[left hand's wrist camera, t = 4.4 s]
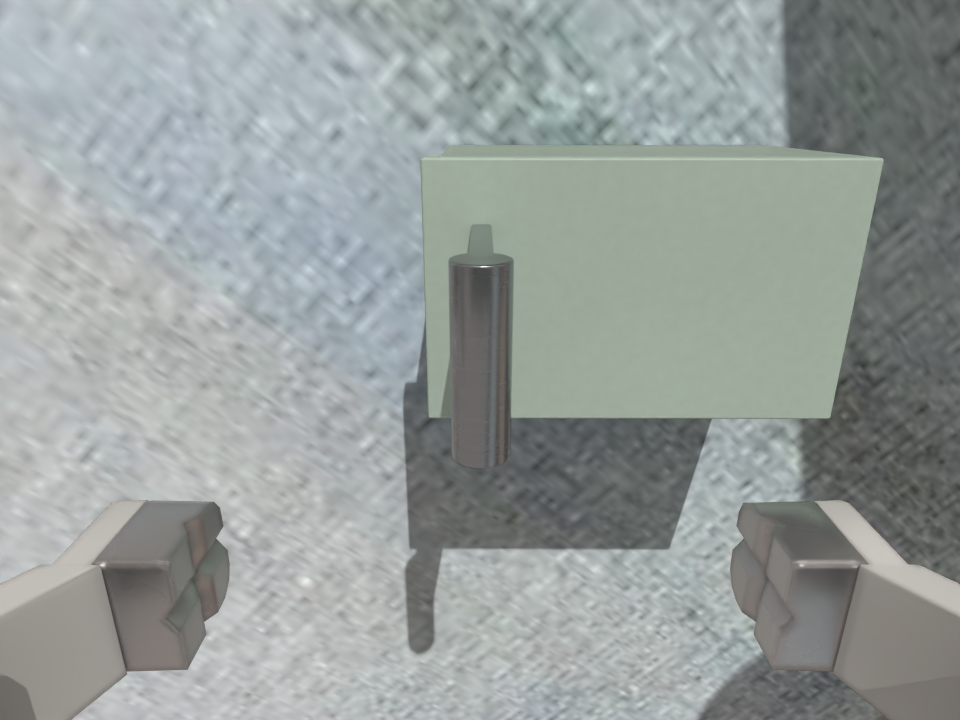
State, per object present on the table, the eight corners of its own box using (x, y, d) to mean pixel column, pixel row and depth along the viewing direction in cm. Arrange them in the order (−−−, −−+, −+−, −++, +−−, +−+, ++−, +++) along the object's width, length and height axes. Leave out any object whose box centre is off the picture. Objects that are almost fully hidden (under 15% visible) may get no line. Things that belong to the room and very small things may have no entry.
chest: (453, 338, 34) (444, 408, 26) (450, 145, 31) (439, 156, 23) (738, 339, 34) (819, 409, 26) (767, 145, 31) (869, 156, 23)
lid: (430, 409, 26) (408, 533, 18) (422, 155, 23) (392, 177, 15) (819, 409, 26) (961, 534, 18) (870, 156, 23) (1071, 178, 15)
